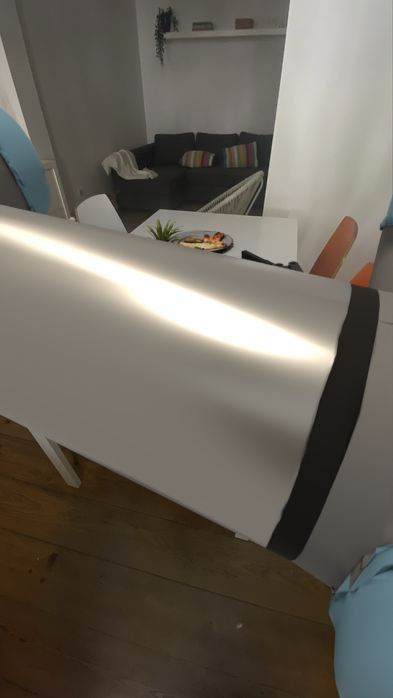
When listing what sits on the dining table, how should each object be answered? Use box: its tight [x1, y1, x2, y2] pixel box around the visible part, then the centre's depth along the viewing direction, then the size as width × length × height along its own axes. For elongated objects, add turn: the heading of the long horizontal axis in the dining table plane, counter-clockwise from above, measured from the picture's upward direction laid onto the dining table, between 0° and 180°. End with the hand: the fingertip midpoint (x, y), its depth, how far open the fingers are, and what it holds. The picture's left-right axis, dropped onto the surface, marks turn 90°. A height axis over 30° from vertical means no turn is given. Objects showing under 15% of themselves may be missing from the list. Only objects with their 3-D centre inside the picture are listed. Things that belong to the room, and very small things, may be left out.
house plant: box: [145, 219, 186, 244], centre depth 105 cm, size 14×14×16 cm
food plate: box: [169, 229, 234, 252], centre depth 126 cm, size 25×23×4 cm
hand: (202, 270), depth 46 cm, fingers open, 13 cm apart
